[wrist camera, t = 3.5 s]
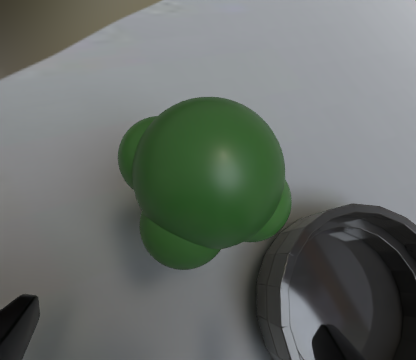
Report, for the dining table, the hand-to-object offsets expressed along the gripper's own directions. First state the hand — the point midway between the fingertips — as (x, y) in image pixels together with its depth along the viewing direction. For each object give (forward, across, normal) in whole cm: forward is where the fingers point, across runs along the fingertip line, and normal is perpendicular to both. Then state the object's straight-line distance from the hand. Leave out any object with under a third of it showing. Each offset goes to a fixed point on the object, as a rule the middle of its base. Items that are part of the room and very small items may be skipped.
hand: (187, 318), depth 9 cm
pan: (+8, -13, +8) cm, 17 cm away
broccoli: (+11, 0, +4) cm, 12 cm away
